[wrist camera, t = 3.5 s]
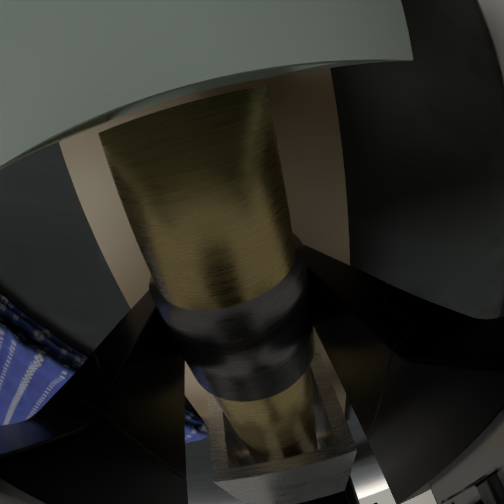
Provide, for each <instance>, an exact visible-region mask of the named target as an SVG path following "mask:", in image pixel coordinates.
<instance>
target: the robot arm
mask: <svg viewBox="0 0 504 504" xmlns="http://www.w3.org/2000/svg"><path fill="white" fill-rule="evenodd" d="M303 246H304V251H305V258H306V266H307V274H308V283H309V291H310V301H311V310H312V320H313V326H314V328H315V331H316V333H317V335H318V337H319V339H320V341H321V343H322V345H323V347H324V349H325V351H326V353H327V355H328V357H329V359H330V361H331V363H332V365H333V367H334V370H335V372H336V374H337V376H338V378H339V380H340V382H341V384H342V386H343V388H344V390H345V392H346V395H347V397H348V399H349V401H350V403H351V405H352V407H353V409H354V412H355V414H356V416H357V418H358V420H359V422H360V424H361V426H362V429H363V431H364V433H365V435H366V437H367V439H368V441H369V444H370V446H371V448H372V451H373V453H374V455H375V457H376V459H377V461H378V464H379V466H380V468H381V470H382V473H383V475H384V477H385V479H386V481H387V484H388V486H389V488H390V490H391V493H392V495H393V497H394V499H395V502H396V504H401V503H403V502H405V501H407V500H409V499H411V498H414V497H415V496H418V495H420V494H422V493H424V492H426V491H428V490H430V489H431V490H432V493H433V495H434V497H435V500H436V502H437V504H504V317H500V318H495V319H477V318H473V317H470V316H467V315H464V314H461V313H459V312H456V311H453V310H451V309H448V308H445V307H443V306H440V305H437V304H435V303H432V302H429V301H427V300H424V299H422V298H419V297H417V296H414V295H412V294H410V293H408V292H405V291H403V290H401V289H399V288H397V287H395V286H393V285H390V284H386V282H384V281H382V280H380V279H378V278H376V277H373V276H371V275H369V274H367V273H365V272H363V271H361V270H359V269H356V268H354V267H352V266H350V265H348V264H346V263H344V262H341V261H339V260H337V259H335V258H333V257H331V256H328V255H326V254H324V253H322V252H320V251H318V250H315V249H313V248H311V247H309V246H307V245H303ZM0 504H188V496H187V481H186V457H185V360H184V358H183V356H182V354H181V353H180V351H179V349H178V347H177V345H176V344H175V342H174V340H173V338H172V336H171V334H170V332H169V331H168V329H167V327H166V325H165V323H164V321H163V319H162V317H161V315H160V313H159V311H158V309H157V307H156V305H155V303H154V301H153V299H152V297H151V295H150V291H149V290H148V291H147V292H146V293H145V294H144V296H143V297H142V298H141V299H140V300H139V301H138V302H137V303H136V304H135V305H134V306H133V308H132V309H131V310H130V311H129V312H128V313H127V314H126V315H125V316H124V318H123V319H122V320H121V321H120V322H119V323H118V324H117V325H116V326H115V328H114V329H113V330H112V331H111V332H110V333H109V334H108V336H107V337H106V338H105V339H104V340H103V341H102V342H101V344H100V345H99V346H98V347H97V348H96V349H95V352H93V353H92V354H91V355H90V356H89V357H88V359H87V360H86V361H85V362H84V363H83V364H82V365H81V367H80V368H79V369H78V370H77V371H76V372H75V373H74V374H73V375H72V376H71V378H70V379H69V380H68V381H67V382H66V383H65V384H64V385H63V386H62V387H61V388H60V389H59V390H58V391H57V392H56V393H55V394H54V395H53V396H52V397H51V398H50V399H49V400H48V401H47V403H46V404H45V405H44V406H43V407H42V408H41V409H40V410H39V411H38V412H37V413H36V414H35V415H33V416H32V417H30V418H29V419H27V420H24V421H22V422H18V423H13V424H7V425H1V426H0ZM297 504H359V501H358V497H357V494H356V491H355V488H354V485H353V482H352V479H351V476H349V479H348V482H347V485H346V488H345V490H344V491H342V492H339V493H335V494H332V495H329V496H325V497H321V498H318V499H314V500H310V501H306V502H302V503H297ZM374 504H377V503H374Z"/></svg>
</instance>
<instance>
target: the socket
mask: <svg viewBox="0 0 504 504" xmlns="http://www.w3.org/2000/svg"><path fill="white" fill-rule="evenodd" d="M392 61H413V54H412V49H411V43H410V38H409V33H408V28H407V23H406V19H405V14H404V10H403V6H402V2H401V0H0V170H1V169H3V168H5V167H6V166H8V165H10V164H12V163H14V162H16V161H18V160H20V159H22V158H24V157H26V156H28V155H30V154H32V153H34V152H37V151H39V150H41V149H43V148H45V147H48V146H50V145H52V144H54V143H57V142H59V141H62V140H64V139H66V138H69V137H71V136H74V135H76V134H79V133H81V132H84V131H87V130H89V129H91V128H94V127H96V126H99V125H101V124H104V123H106V122H109V121H111V120H114V119H116V118H119V117H122V116H124V115H127V114H130V113H133V112H135V111H138V110H141V109H144V108H147V107H150V106H153V105H156V104H160V103H163V102H166V101H169V100H173V99H176V98H180V97H183V96H187V95H190V94H194V93H198V92H202V91H206V90H210V89H214V88H218V87H223V86H227V85H232V84H237V83H242V82H247V81H252V80H258V79H264V78H270V77H276V76H283V75H290V74H298V73H303V72H308V71H314V70H320V69H327V68H333V67H341V66H348V65H357V64H367V63H378V62H392Z"/></svg>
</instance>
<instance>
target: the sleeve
mask: <svg viewBox="0 0 504 504" xmlns="http://www.w3.org/2000/svg"><path fill="white" fill-rule="evenodd" d="M310 371H311V380H312V390H313V401H314V412H315V424H316V434H317V437H318V441H319V444H320V447H321V449H320V450H316V451H313V452H309V453H305V454H301V455H297V456H293V457H289V458H285V459H280V460H276V461H271V462H266V463H260V464H257V463H256V462H255V460H254V459H253V457H252V456H251V454H250V453H249V451H248V450H247V448H246V447H245V445H244V444H243V442H242V441H241V439H240V438H239V436H238V435H237V433H236V431H235V430H234V428H233V427H232V425H231V424H230V422H229V420H228V419H227V417H226V416H225V414H224V412H223V411H222V409H221V407H220V406H219V404H218V402H217V401H216V399H215V397H214V396H213V394H211V393H209V392H208V391H207V399H208V416H209V431H210V445H211V458H212V469H213V480H214V483H216V484H217V485H218V486H220V487H221V488H222V489H224V490H225V491H227V492H228V493H229V494H231V495H232V496H234V497H235V498H237V499H238V500H240V501H241V502H243V503H244V504H297V503H302V502H306V501H310V500H314V499H318V498H321V497H325V496H329V495H332V494H335V493H339V492H342V491H344V490H345V488H346V485H347V482H348V479H349V476H350V472H351V469H352V466H353V463H354V460H355V456H356V453H357V448H356V445H355V442H354V440H353V437H352V434H351V432H350V429H349V426H348V424H347V421H346V418H345V416H344V413H343V411H342V408H341V405H340V403H339V400H338V397H337V395H336V392H335V390H334V387H333V385H332V382H331V379H330V377H329V374H328V372H327V369H326V367H325V364H324V362H323V359H322V356H321V354H320V353H319V354H315V355H313V358H312V361H311V363H310Z"/></svg>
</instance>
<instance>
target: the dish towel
mask: <svg viewBox="0 0 504 504" xmlns="http://www.w3.org/2000/svg"><path fill="white" fill-rule="evenodd" d="M87 359H88V357H87V356H85V355H83V354H81V353H80V352H78V351H76V350H75V349H73V348H72V347H70V346H68V345H67V344H65V343H64V342H62V341H61V340H60V339H58V338H57V337H56V336H54V335H53V334H52V333H51V332H50V331H49V330H47V329H45V328H43V327H42V326H40V325H39V324H37V323H36V322H35V321H33V320H32V319H31V318H29V317H28V316H27V315H25V314H24V313H22V312H21V311H20V310H18V309H17V308H16V307H15V306H14V305H13V304H12V303H11V302H9V301H8V299H7V298H5V297H4V296H3V295H1V294H0V426H1V425H7V424H13V423H18V422H22V421H24V420H27V419H29V418H30V417H32V416H33V415H35V414H36V413H37V412H38V411H39V410H40V409H41V408H42V407H43V406H44V405H45V404H46V403H47V401H48V400H49V399H50V398H51V397H52V396H53V395H54V394H55V393H56V392H57V391H58V390H59V389H60V388H61V387H62V386H63V385H64V384H65V383H66V382H67V381H68V380H69V379H70V378H71V376H72V375H73V374H74V373H75V372H76V371H77V370H78V369H79V368H80V367H81V365H82V364H83V363H84V362H85V361H86V360H87ZM202 421H203V419H202V418H201V417H200V416H196V415H195V414H194V413H192V412H191V411H189V410H187V409H185V444H186V443H189V442H192V441H197V440H201V439H204V438H206V437H207V436H208V432H207V430H206V429H205V426H204V425H203V423H202Z"/></svg>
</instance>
